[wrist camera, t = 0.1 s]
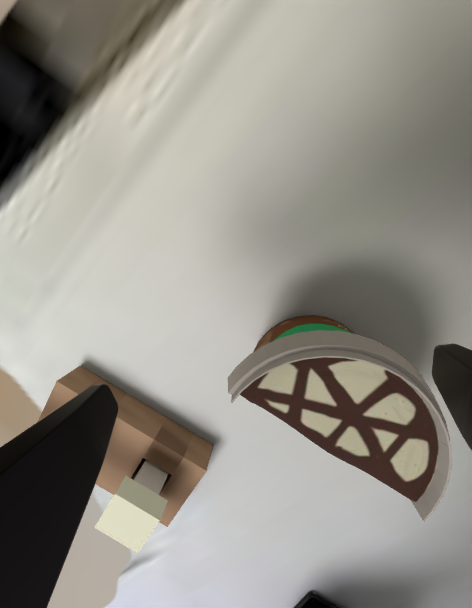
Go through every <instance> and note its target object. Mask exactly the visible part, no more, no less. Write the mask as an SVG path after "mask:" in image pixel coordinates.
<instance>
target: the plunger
mask: <svg viewBox="0 0 472 608" xmlns="http://www.w3.org/2000/svg"><path fill="white" fill-rule="evenodd" d="M167 476H168V473H167V472H166V471H164V470H162V469H161V468H159V467H157V466H156V465H154V464H152V463H151V462H149V461H147V460H145V462H144V464H143V465H142V467H141V468H140V470H139V472H138V473H137V475H136V477H135V478H134V480H133V479H131V478H129V477H128V476H125V478H124V480H123V481H122V483H121V484H120V486H119V488H118V489H117V491H116V493H115V494H114V496H113V498H112V499H111V501H110V503H109V504H108V506H107V508H106V509H105V511H104V513H103V514H102V516H101V518H100V519H99V521H98V523H97V524H96V526H95V528H96V529H98V530H100V531H101V532H103V533H104V534H106V535H108V536H110V537H111V538H113V539H115V540H116V541H118V542H120V543H121V544H123V545H125V546H126V547H128V548H130V549H131V550H133V551H135V552H136V553H138V552H139V551H140V549H141V548H142V546H143V545H144V543H145V542H146V540H147V539H148V538H149V536H150V535H151V533H152V532H153V530H154V529H155V527H156V526H157V524H158V523H159V521H160V519H161V517H162V514H163V512H164V509H165V507H166V504H167V502H168V500H166V499H164V498H163V497H161V496H159V494H160V491H161V489H162V487H163V485H164V482H165V480H166V478H167Z"/></svg>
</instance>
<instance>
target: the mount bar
mask: <svg viewBox="0 0 472 608" xmlns="http://www.w3.org/2000/svg"><path fill="white" fill-rule="evenodd" d="M96 384H107V385H108V386H109V387H110V389H111V391H112V393H113V395H114V397H115V399H116V401H117V403H118V414H117V418H116V421H115V425H114V428H113V432H112V435H111V439H110V442H109V446H108V449H107V453H106V456H105V459H104V462H103V465H102V468H101V470H100V473H99V476H98V478H97V481H96V483H95V484H96V485H98V486H100V487H101V488H103V489H105V490H106V491H108V492H110V493H112V494H113V495H114V494H115V493H116V491H117V489H118V488H119V486H120V484H121V483H122V481H123V480H124V478H125V476H128V477H129V478H131V479H133V480H134V478H135V477H136V475H137V473H138V472H139V470H140V468H141V467H142V465H143V464H144V462H145V460H147V461H149V462H151V463H152V464H154V465H156V466H157V467H159V468H161V469H162V470H164V471H166V472H167V473H168V476H167V478H166V480H165V482H164V485H163V487H162V489H161V491H160V494H159V496H161V497H163V498H164V499H166V500H168V502H167V504H166V507H165V509H164V512H163V514H162V517H161V519H160V521H159V522H160V523H162V524H163V525H165V526H167V527H168V525H169V524H170V522H171V521H172V520H173V518H174V517H175V515H176V514H177V512H178V511H179V509H180V508H181V506H182V505H183V504H184V502H185V501H186V499H187V498H188V496H189V495H190V493H191V492H192V491H193V489H194V488H195V486H196V485H197V483H198V482H199V480H200V479H201V478H202V476H203V475H204V473H205V472H206V470H207V466H208V463H209V459H210V456H211V452H212V449H213V445H212V444H210V443H208V442H207V441H205V440H203V439H202V438H200V437H198V436H197V435H195V434H193V433H192V432H190V431H188V430H187V429H185V428H183V427H182V426H180V425H178V424H177V423H175V422H173V421H172V420H170V419H168V418H167V417H165V416H163V415H162V414H160V413H158V412H157V411H155V410H153V409H152V408H150V407H148V406H147V405H145V404H143V403H142V402H140V401H138V400H137V399H135V398H133V397H132V396H130V395H128V394H127V393H125V392H123V391H122V390H120V389H118V388H117V387H115V386H113V385H112V384H110V383H108V382H107V381H105V380H103V379H102V378H100V377H98V376H97V375H95V374H93V373H92V372H90V371H88V370H87V369H85V368H83V367H82V366H79V367H78V368H76V369H75V370H73V371H71V372H70V373H68V374H67V375H65V376H64V377H62V378H61V379H59V380H58V381H57V382H56V384H55V386H54V388H53V390H52V392H51V395H50V397H49V399H48V401H47V403H46V405H45V408H44V410H43V412H42V414H41V416H40V418H39V421H40V420H42V419H43V418H45V417H46V416H48V415H49V414H50V413H52V412H53V411H55V410H56V409H58V408H59V407H61V406H62V405H64V404H65V403H67V402H68V401H70V400H71V399H73V398H74V397H76V396H77V395H79V394H80V393H81V392H83V391H84V390H86V389H87V388H89V387H90V386H92V385H96ZM39 421H38V422H39Z"/></svg>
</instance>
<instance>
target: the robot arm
mask: <svg viewBox="0 0 472 608" xmlns="http://www.w3.org/2000/svg"><path fill="white" fill-rule="evenodd" d="M432 376H433V379H434V382H435V384H436V386H437V388H438V390H439V392H440V393H441V395H442V397H443V399H444V401H445V403H446V405H447V407H448V409H449V411H450V413H451V415H452V417H453V419H454V421H455V423H456V425H457V427H458V428H459V430H460V432H461V434H462V436H463V438H464V439H465V441H466V442H467V444H468V446H469V447H470V449H471V450H472V350H470V349H467V348H465V347H462V346H460V345H457V344H445V345H438V346H436V347H435V349H434V356H433V366H432ZM117 414H118V403H117V401H116V399H115V397H114V395H113V393H112V391H111V389H110V387H109V386H108V385H107V384H96V385H92V386H90V387H89V388H87V389H86V390H84V391H83V392H81V393H80V394H79V395H77V396H76V397H74V398H73V399H71V400H70V401H68V402H67V403H65V404H64V405H62V406H61V407H59V408H58V409H56V410H55V411H53V412H52V413H50V414H49V415H48V416H46V417H45V418H43V419H42V420H40V421H39V422H37V423H36V424H34V425H33V426H31V427H30V428H28V429H27V430H25V431H24V432H22V433H21V434H20V435H18V436H17V437H15V438H14V439H12V440H11V441H9V442H8V443H6V444H5V445H3V446H2V447H0V608H47V606H48V603H49V601H50V598H51V596H52V593H53V590H54V588H55V585H56V583H57V580H58V578H59V575H60V572H61V570H62V567H63V565H64V562H65V560H66V557H67V555H68V552H69V549H70V547H71V544H72V542H73V539H74V536H75V534H76V532H77V529H78V526H79V524H80V521H81V519H82V516H83V514H84V511H85V509H86V506H87V504H88V501H89V499H90V496H91V493H92V491H93V488H94V486H95V483H96V481H97V478H98V476H99V473H100V470H101V468H102V465H103V462H104V459H105V456H106V453H107V449H108V446H109V442H110V439H111V435H112V432H113V428H114V425H115V421H116V418H117ZM296 608H338V607H336V606H335V605H333V604H331V603H330V602H328V601H326V600H325V599H323V598H321V597H320V596H318V595H316V594H314V593H310V594H308V595H307V596H306V597H305V598H304V599H303V600H302V601H301V602H300V604H299V605H298V606H297V607H296Z"/></svg>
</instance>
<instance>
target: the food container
mask: <svg viewBox="0 0 472 608" xmlns="http://www.w3.org/2000/svg"><path fill="white" fill-rule="evenodd" d="M228 393H230V394H231V395H232V399H231V402H232V403H233V402H234V400H235V399H236V398H237V397H238V396H239V395H241V396H243V397H244V398H246V399H247V400H248V401H250V402H252V403H254V404H256V405H258V406H260V407H262V408H264V409H265V410H267V411H268V412H270V413H272V414H273V415H275V416H276V417H278V418H279V419H281V420H283V421H284V422H285V423H287V424H288V425H290V426H291V427H293V428H294V429H296V430H297V431H298V432H300V433H301V434H303V435H304V436H305V437H307V438H308V439H309V440H311V441H312V442H314V443H315V444H316V445H318V446H319V447H321V448H322V449H324V450H325V451H327V452H328V453H330V454H332V455H334V456H335V457H337V458H339V459H341V460H343V461H345V462H347V463H349V464H351V465H353V466H355V467H357V468H359V469H361V470H363V471H364V472H366V473H368V474H370V475H371V476H373V477H375V478H376V479H378V480H380V481H381V482H383V483H384V484H386V485H388V486H389V487H391V488H393V489H394V490H396V491H397V492H399V493H401V494H402V495H404V496H406V497H407V498H409V499H410V500H411V501H412V503H413V504H414V506H415V508H416V509H417V511H418V513H419V515H420V516H421V518H422V520H423V521H425V520H426V519H427V518H428V517H429V516H430V515H431V514H432V512H433V511H434V510H435V509H436V507H437V505H438V504H439V502H440V500H441V499H442V497H443V495H444V492H445V490H446V487H447V484H448V482H449V477H450V471H451V465H452V464H451V446H450V438H449V434H448V429H447V425H446V421H445V419H444V416H443V414H442V412H441V409H440V407H439V405H438V403H437V401H436V399H435V397H434V395H433V394H432V392H431V390H430V388H429V386H428V385H427V383H426V382H425V380H424V379H423V378H422V376H421V375H420V373H419V372H418V371H417V370H416V369H415V368H414V367H413V366H412V365H411V364H410V363H409V362H408V361H407V360H406V359H405V358H403V357H402V356H401V355H399V354H398V353H397V352H395V351H394V350H393V349H391V348H389V347H387V346H385V345H383V344H381V343H379V342H377V341H375V340H373V339H370V338H367V337H364V336H361V335H358V334H354V333H353V332H352V331H351V330H349V329H348V328H347V327H345V326H344V325H343V324H341V323H339V322H337V321H335V320H332V319H329V318H326V317H321V316H299V317H294V318H291V319H288V320H285V321H283V322H281V323H279V324H277V325H276V326H274V327H273V328H271V329H270V330H269V331H268V332H267V333H266V334H265V335H264V336H263V337H262V338H261V340H260V341H259V342H258V344H257V346H256V348H255V350H254V352H253V353H252V354H250V355H249V356H248V357H247V358H246V359H244V360H243V361H242V362H241V363H240V364H239V365H238V366H237V367H236V368H235V369H234V371H233V372H232V373H231V374H230V376H229V377H228Z"/></svg>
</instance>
